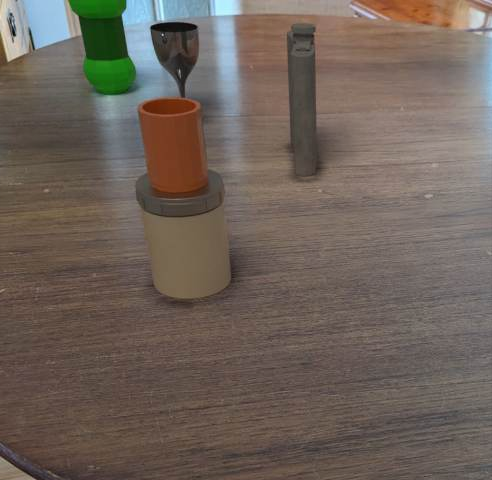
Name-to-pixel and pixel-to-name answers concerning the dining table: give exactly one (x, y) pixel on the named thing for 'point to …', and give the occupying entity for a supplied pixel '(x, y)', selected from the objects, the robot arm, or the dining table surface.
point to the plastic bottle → (105, 44)
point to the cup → (174, 144)
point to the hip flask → (302, 97)
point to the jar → (188, 253)
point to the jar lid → (180, 197)
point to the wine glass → (176, 49)
